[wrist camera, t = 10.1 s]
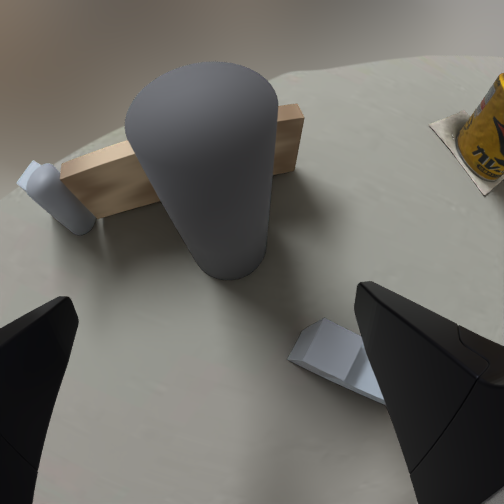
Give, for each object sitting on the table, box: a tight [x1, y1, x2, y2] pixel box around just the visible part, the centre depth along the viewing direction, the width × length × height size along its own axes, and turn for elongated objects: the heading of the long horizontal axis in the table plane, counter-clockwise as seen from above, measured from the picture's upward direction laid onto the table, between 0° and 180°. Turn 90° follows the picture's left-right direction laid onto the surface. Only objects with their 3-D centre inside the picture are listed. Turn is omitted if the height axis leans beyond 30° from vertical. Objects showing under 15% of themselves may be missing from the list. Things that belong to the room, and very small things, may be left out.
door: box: [60, 104, 304, 219], centre depth 18 cm, size 14×2×6 cm, turn 104°
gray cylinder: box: [125, 62, 278, 280], centre depth 14 cm, size 5×5×12 cm
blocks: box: [17, 161, 386, 405], centre depth 16 cm, size 28×2×6 cm, turn 61°
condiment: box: [428, 73, 504, 195], centre depth 17 cm, size 7×8×12 cm
